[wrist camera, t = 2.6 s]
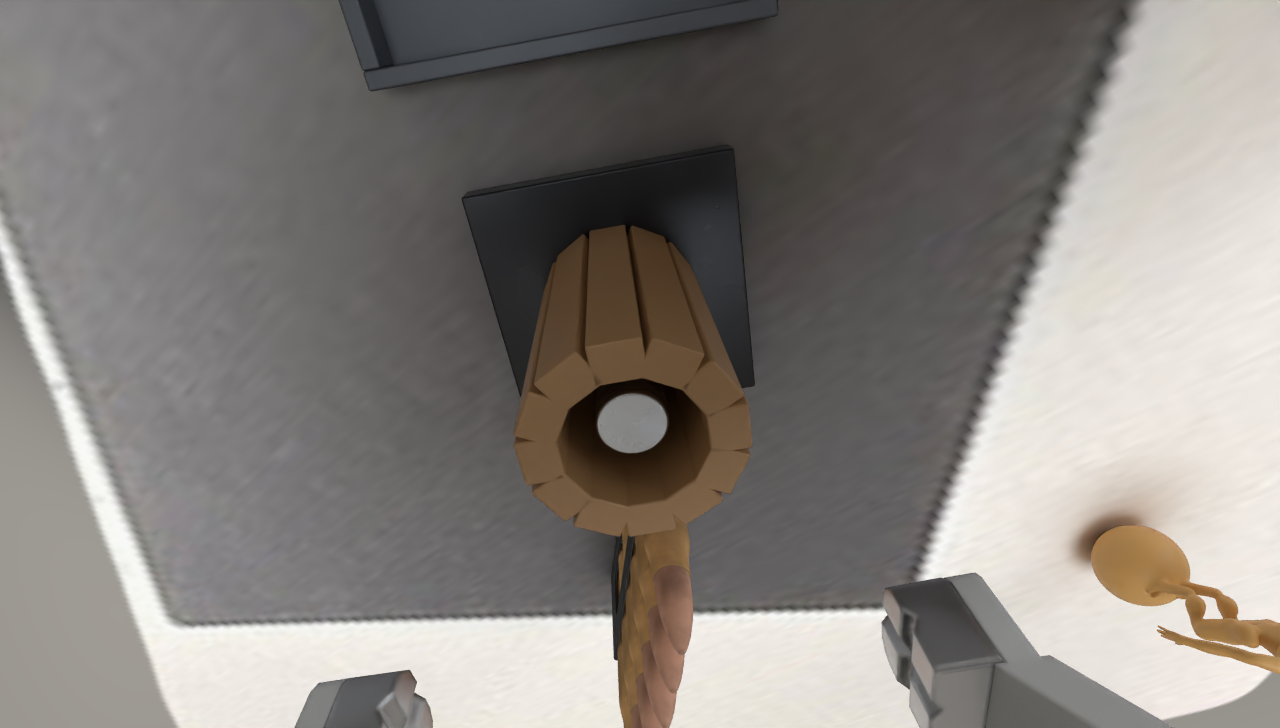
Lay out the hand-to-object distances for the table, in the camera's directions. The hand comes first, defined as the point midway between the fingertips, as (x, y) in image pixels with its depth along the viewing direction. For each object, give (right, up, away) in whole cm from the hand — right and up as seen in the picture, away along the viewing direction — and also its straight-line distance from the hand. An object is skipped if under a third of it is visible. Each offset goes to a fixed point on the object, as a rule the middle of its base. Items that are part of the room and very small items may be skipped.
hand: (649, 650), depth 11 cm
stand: (-1, +8, +15) cm, 17 cm away
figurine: (+26, -4, +23) cm, 35 cm away
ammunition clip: (0, -2, +20) cm, 20 cm away
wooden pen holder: (-1, +7, +14) cm, 16 cm away
